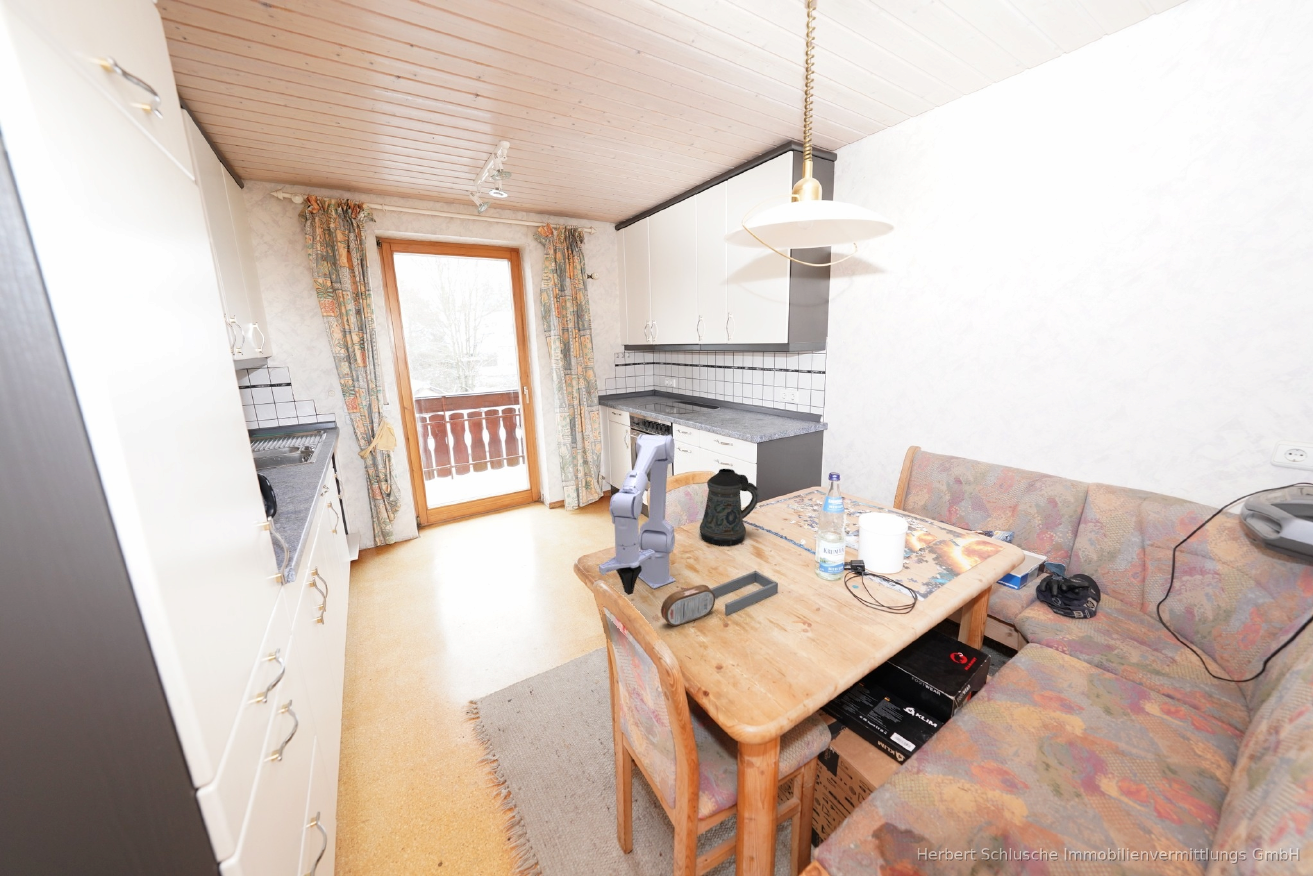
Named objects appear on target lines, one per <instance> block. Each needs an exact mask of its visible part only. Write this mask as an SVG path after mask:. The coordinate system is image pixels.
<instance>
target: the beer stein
mask: <svg viewBox="0 0 1313 876" xmlns="http://www.w3.org/2000/svg"><path fill="white" fill-rule="evenodd" d="M706 485H707V488H708V490H707V491H708V492H707V496H706V497H707V499H706V503H705V508H704V509H705V510H704V514H703V518H702V520H701V523H700V524H699V532H700V533H699V534H700V538H701V540H702V541H703V542H705V543H707V544H709V545H713V546H716V547H732V546H738V545H740V544H742V543H743V542H744V540H745V536H746V532H747V529H746V528H747V527H746V526H745V523H744V519H745V518H746V517H747V516H748V515H750V513H752V511H754V510H755V508H756V506H757V504H758V501H759V497H760V495H759V490H758V489H759V488H758V487H757V485H755V484H754V483H752V482H749V479H748V477H747V475H745V474H738V473H737V472H736V471H735V470H734V469H732V468H721V469H719V470H718V472H717V473H715V474H714V475H713V476H711V477H710V478H709V479H708V480H707V481H706ZM741 492H749V493H750V494H751V500H750V502H748V505H746V506H745V507H744V508H743V509H742V499H741Z"/></svg>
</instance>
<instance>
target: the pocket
mask: <svg viewBox="0 0 1313 876" xmlns="http://www.w3.org/2000/svg"><path fill="white" fill-rule="evenodd" d="M753 583H756V584H759V585H760V586H762V587H761V588H758V589H756V590H754V591H752V592H748V593H747V594H744V595H743V596H740V597H737V598H735V599H734V600H733V599H732V600H730V601H729V602H727V603H724V615H725V616H730V615H732V614H734V613H735V612H738V611H741V610H742V609H746V608H747V607H749V606H752V605H753V604H757V603H758V602H761V601H763V600H765V599H767V598H769V597H771V596H774V595H776V594H778V591H779V583H778V582H777V581H775V580H773V579H771V578H769V577H768V576H766V575H764V574H763V573H761V572H759V571H757V570H754V571H752V572H749V573H746V574H744V575H742V576H739V577H736V578H733V579H731V580H729V581H726V582H723V583H720V584H719V585H716V586H714V587H711V588H710V589H711V590H712V591H713V593H714V594H715V599H718V598H720V597H722V596H725V595H727V594H729V593H732V592H734V591H737V590H739V589H741V588H743V587H744V588H745V587H747V586H749V585H751V584H753Z"/></svg>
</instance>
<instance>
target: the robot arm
mask: <svg viewBox="0 0 1313 876" xmlns="http://www.w3.org/2000/svg"><path fill="white" fill-rule="evenodd" d="M675 444H676V443H675V440H674V438H673V436H672V435H658V434H657V435H654V434H643V433H640V434H639V435H638V436H637V438H636V441H635V452H636V455H637V457H636V460H635V465H634V467H633V469H631V470H630V471H628V472H627V473H626V476H625V478H624V480H623V482H622V484H621V486H620V488H619V491H618V492H616V493H615V494H613V495H612V496H611V498H610V501H609V502H610V503H609V510H608V511H609V514H610V516H611V523H612V525H614V543H615V544H614V545H615V547H614V548H615V555H614V557H612V558H610V559H609V560H607V561H605V562H603V563H601V564H598V573H599V574H600V575H601V576H605V575H607V573H611V572H613V571H616V573H617V574H618V576H619V579H620V581H621V584H622V587H623V591H624V593H625V594H626V595H627V596H629V595H632V594H634V591H635V586H636V582H637V581H638V578H639V579H640V580H641V581H643V582H644V583H645V584H647V585H648V586H649V587H650V588H652V589H657V588H661V587H663V586H665V585H669V584H671V583H673V582H676V578H674V577H673V576H672V575H671V574H670V554H671V553H672V552H673V551H674V549H675V543H676V536H675V528H674V526H673V524H671V523H670V522H669V521H668V520H667V519H666V508H667V507H666V505H667V486H668V484H667V482H668V479H667V478H668V477H667V476H668V468H669V465H671V464H673V463H674V459H675V448H676V447H675ZM649 472H650V481H649V478H648V476H647V475H648V474H649ZM649 482H650V483H649ZM648 483H649V485H650V487H649V501H648V502H649V508H648V509H649V510H648V519H647V520H646V521H644V522H643V523H642V524H641V525H640V527H639V518H640V515H641V514H642V510H643V508H642V507H643V503H644V499H643V496H644V494H645V491H646V488H647V487H648Z"/></svg>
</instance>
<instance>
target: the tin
mask: <svg viewBox="0 0 1313 876" xmlns="http://www.w3.org/2000/svg"><path fill="white" fill-rule="evenodd" d="M715 603H716V598H715V594H714V593H713V591H712V590H711V588H710V587H709V585H706V584H698V585H693V586H691V587H687V588H684V589H682V590H678V591H674V592H671V593H670V594H669V595H668V596H667V597H666V598H665V599H664V601H663V603H662V605H661V607H660V608H661V609H660V614H661V615H660V616H662V618H663V619H664V620H665V621H666V622H667V624H668V625H671V626H672V627H673V626H674V627H675V626H682V625H684V624H686V623H690V622H693V621H696V620H698V619H699V620H700V619H702V618H704V617H706V616H708V614H710V613H711V612H712V611H713V608H714V607H715Z"/></svg>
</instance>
